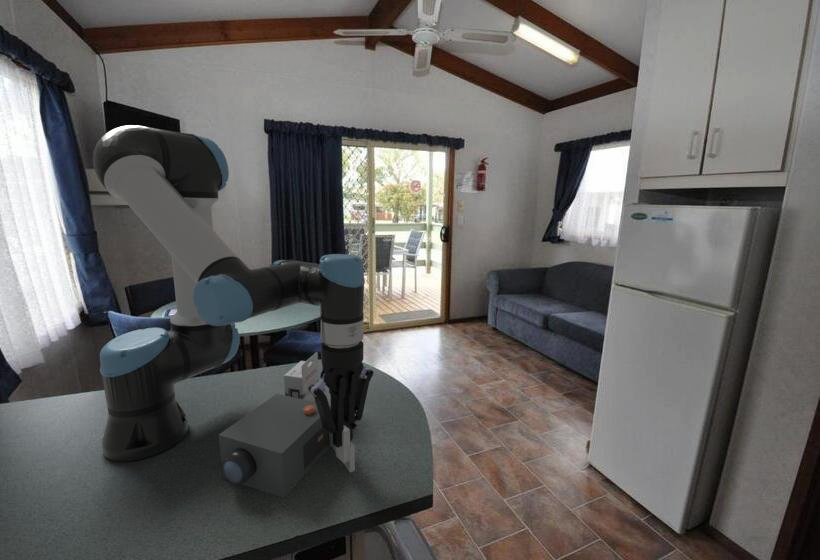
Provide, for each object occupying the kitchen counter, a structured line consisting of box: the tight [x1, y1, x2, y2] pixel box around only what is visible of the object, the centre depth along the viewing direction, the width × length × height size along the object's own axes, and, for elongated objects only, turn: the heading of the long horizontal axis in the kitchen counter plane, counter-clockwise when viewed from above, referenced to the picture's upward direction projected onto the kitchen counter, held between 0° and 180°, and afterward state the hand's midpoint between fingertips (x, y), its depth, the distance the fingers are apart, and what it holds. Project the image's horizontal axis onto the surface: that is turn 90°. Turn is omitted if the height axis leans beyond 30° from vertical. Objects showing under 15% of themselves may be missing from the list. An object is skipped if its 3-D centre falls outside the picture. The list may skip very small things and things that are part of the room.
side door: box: [331, 433, 356, 473], centre depth 74 cm, size 9×2×6 cm, turn 34°
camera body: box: [218, 393, 332, 499], centre depth 72 cm, size 15×19×10 cm
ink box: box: [283, 351, 320, 403], centre depth 90 cm, size 9×5×15 cm, turn 168°
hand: (342, 458), depth 71 cm, fingers closed
